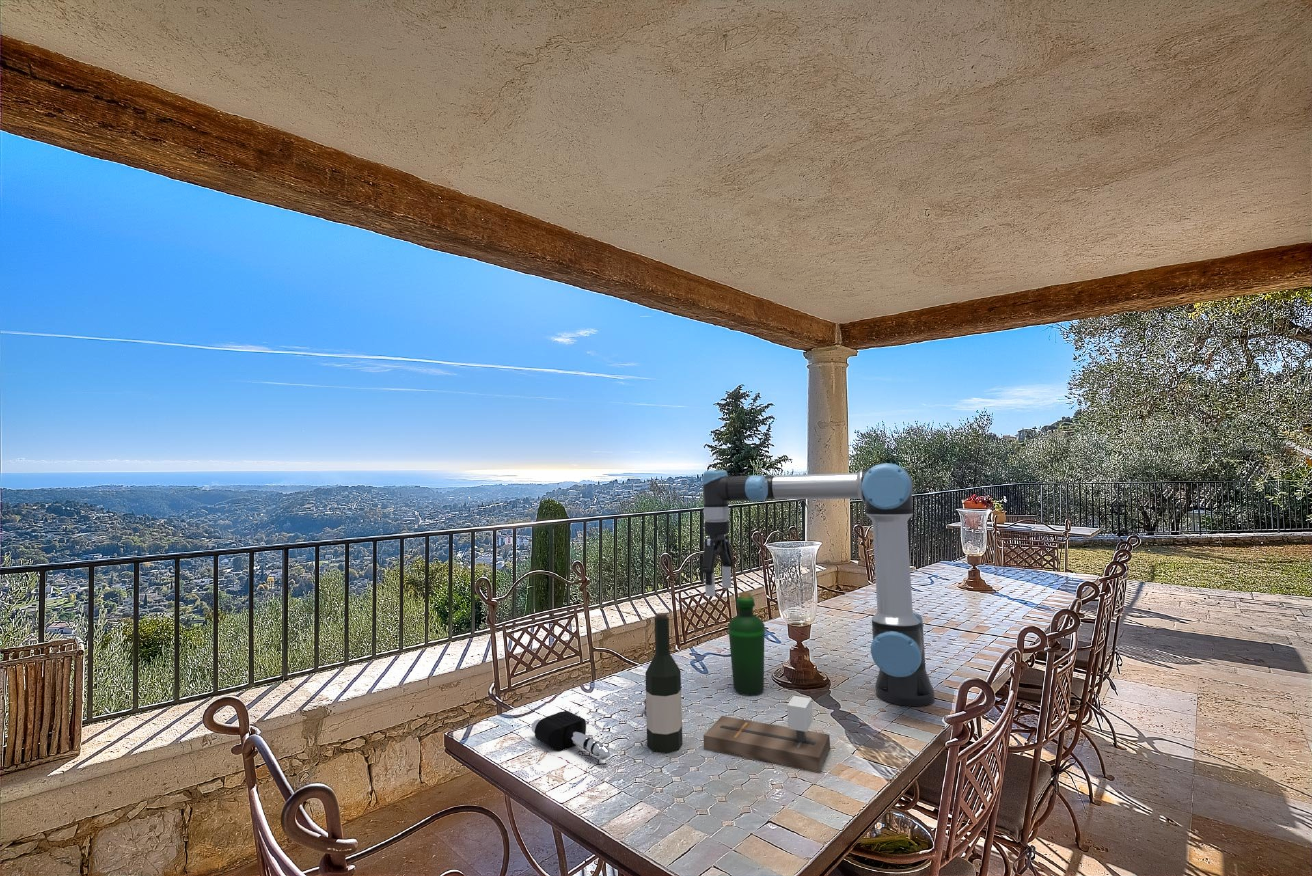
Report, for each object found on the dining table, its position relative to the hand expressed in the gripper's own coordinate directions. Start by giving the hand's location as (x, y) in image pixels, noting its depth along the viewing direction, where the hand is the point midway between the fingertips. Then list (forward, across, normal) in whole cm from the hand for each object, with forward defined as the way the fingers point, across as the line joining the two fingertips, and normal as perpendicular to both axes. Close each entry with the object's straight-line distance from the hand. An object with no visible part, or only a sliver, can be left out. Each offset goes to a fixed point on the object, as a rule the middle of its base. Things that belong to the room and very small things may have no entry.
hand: (718, 591), depth 171 cm
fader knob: (+25, +33, +31) cm, 51 cm away
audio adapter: (+28, +51, -17) cm, 60 cm away
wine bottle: (+28, +41, +1) cm, 49 cm away
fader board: (+28, +32, +23) cm, 49 cm away
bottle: (+28, 0, +8) cm, 29 cm away
